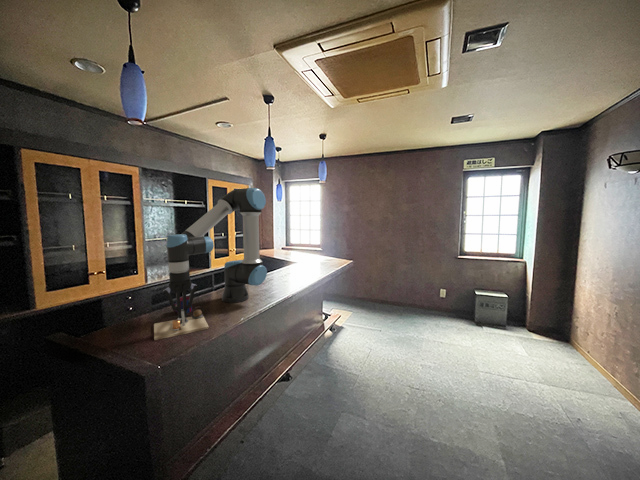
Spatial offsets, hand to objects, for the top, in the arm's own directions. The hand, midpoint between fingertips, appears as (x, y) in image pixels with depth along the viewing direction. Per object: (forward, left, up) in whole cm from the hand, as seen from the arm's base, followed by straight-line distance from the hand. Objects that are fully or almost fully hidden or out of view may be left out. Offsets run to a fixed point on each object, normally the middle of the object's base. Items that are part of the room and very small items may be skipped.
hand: (183, 324), depth 109 cm
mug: (-1, -23, -3) cm, 23 cm away
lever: (+1, -4, -1) cm, 4 cm away
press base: (+1, -4, -2) cm, 4 cm away
